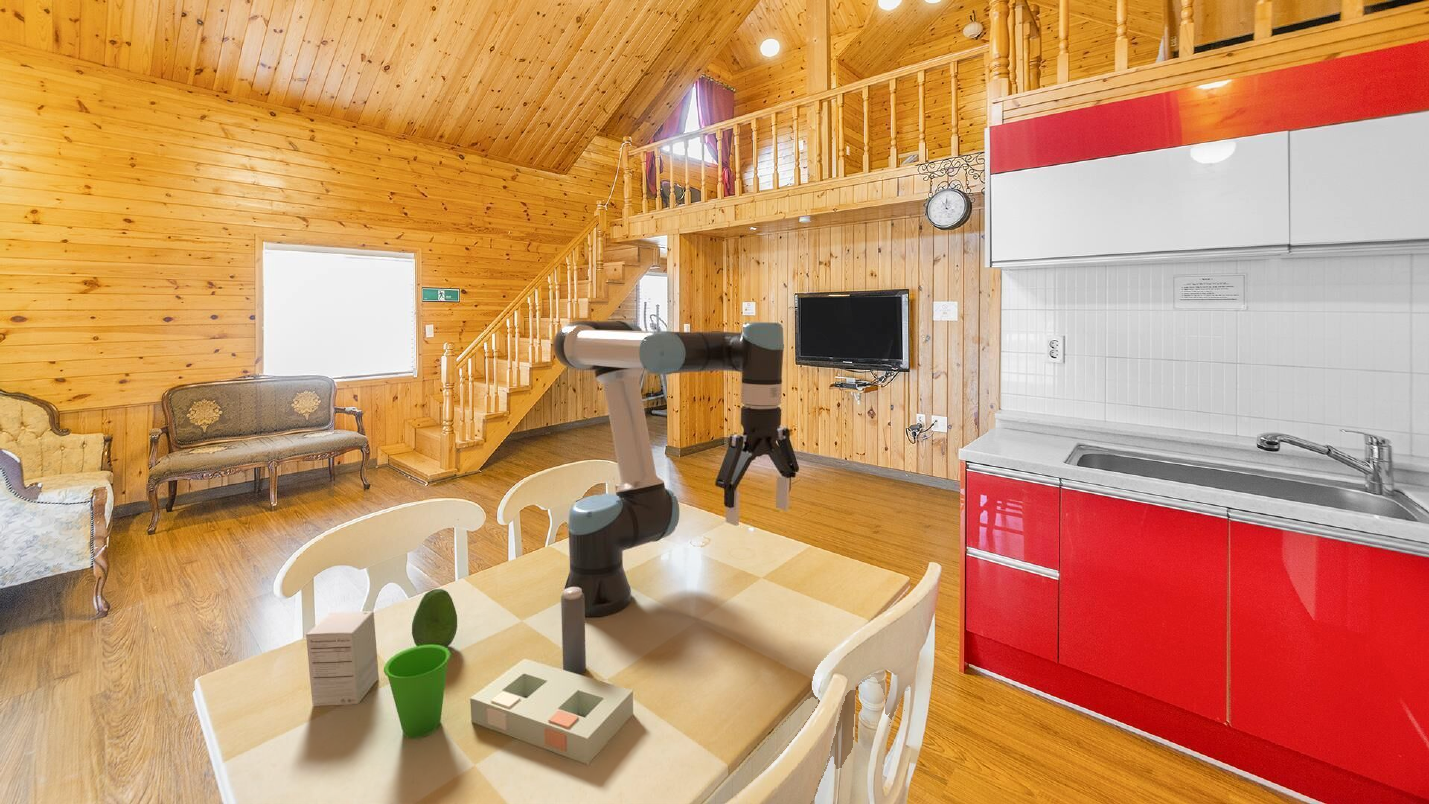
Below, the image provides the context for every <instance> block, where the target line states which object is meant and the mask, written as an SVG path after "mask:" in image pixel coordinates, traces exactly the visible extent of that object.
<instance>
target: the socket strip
mask: <svg viewBox="0 0 1429 804" xmlns="http://www.w3.org/2000/svg"><path fill="white" fill-rule="evenodd" d="M469 700H470V716H471V718H470V719H471V723H474V724H476V725H479V726H482V727H485V728H487V729H490V730H493V731H495V732H499V733H500V734H504V735H506V736H509V737H512V738H514V739H517V740H519V741H523V742H525V743H529V744H530V745H533V746H536V747H539V748H541V749H543V750H547V751H550V752H553V753H556V754H558V755H562V756H564V757H567V758H569V759H572V760H575V761H577V762H580V763H582V764H585V765H589V764H590V763H591V762H592V761H593V760H594V759H595V757H596V756H597V755H598V754H599V753H600V752H601V751H602V749H604V747H606V745H607V744H608V743H609V742H610V740H611V739H612V738H613V737H614V735H616V734H617V733H618V731H620V729H621V728H622V727H623V726H624V725H625V724H626V722H627V721H628V720H629V719H630V718H631V717H632V716H633V715H634V690H632V689H628V688H625V687H622V686H619V685H615V684H612V683H609V682H605V681H602V680H598V679H595V678H591V677H588V676H584V675H583V674H581V675H579V674H575V673H572V672H568V671H565V670H563V668H558V667H554V666H550V665H548V664H545V663H540V662H539V661H535V660H531V659H527V658H523V659H522V660H520V661H519V662H517V663H516V664H514V665H513V666H512V667H511V668H509V669H508V670H507V671H506V672H504V673H503V674H501V675H500V676H498V677H497V678H496V679H494V680H493V681H492V682H489V683H488V684H487V685H486V686H485V687H483V688H482V689H481V690H479V691H478V692H476V693H475V694H474V695H472V696H471V697H470V698H469ZM581 715H582V716H581ZM584 716H585V717H584Z"/></svg>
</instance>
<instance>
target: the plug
mask: <svg viewBox="0 0 1429 804" xmlns="http://www.w3.org/2000/svg"><path fill="white" fill-rule="evenodd" d="M560 607H561V641H562V642H561V643H562V644H561V645H562V670H565V671H568V672H572V673H575V674H579V675H583V674H585V672H586V670H587V662H586V661H587V658H586V657H587V655H586V654H587V653H586V651H587V650H586V617H585V607H584V594H583V593H582V589H581V588H579V587H570V588H567V589H565V590H564V589H563V592H562V595H561V597H560Z"/></svg>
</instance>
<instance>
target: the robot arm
mask: <svg viewBox="0 0 1429 804" xmlns="http://www.w3.org/2000/svg"><path fill="white" fill-rule="evenodd" d="M784 343H785V342H784V328H783V325H782V324H781V323H779V322H770V321H769V322H762V321H761V322H760V321H759V322H758V321H752V322H751V321H747V322H744V323H743V325H742V331H741V332H736V331H735V332H734V331H733V332H732V331H721V330H711V331H669V330H668V331H667V330H665V331H664V330H659V331H657V330H655V331H650V330H643V329H642V328H641V327H640V326H638V325H637V324H636V323H634V322H630V321H623V320H612V321H609V320H608V321H607V320H605V321H604V320H603V321H601V320H577V321H572V322H569V323H567V324H565V325H564V326H562V327H561V328H559V330H558V331H557V332H556V334H555V336H554V339H553V343H552V344H553V346H552V348H553V351H554V355H555V357H556V359H557V360H558V361H559V363H561V365H563V366H565V367H567V368H569V369H572V370H576V371H594V377H595V381H597V382H599V383H600V384H601V385H602V386H603V391H604V395H605V401H606V407H607V412H608V418H609V423H610V429H611V434H612V435H611V436H612V440H613V445H614V452H615V456H616V457H615V458H616V462H617V468H618V472H619V478H620V480H619V481H620V484H619V485H618V487H617V489H616V490H615V493H616V494H614V493H613V494H612V493H602V494H594V495H590V496H586V497H584V498H582V499H579V500H578V501H575V503H573V505H572V506H571V507H570V509H569V512H568V523H567V529H568V548H569V551H568V553H569V572H568V575H567V579H566V582H565V585H564V588H563V591H564V590H565V589H567V588H570V587H579V588H581V589H582V593H583V594H584V607H585V618H587V617H589V618H591V617H592V618H593V617H603V616H604V617H605V616H608V615H611V614H615V613H618V612H620V611H622V610H624V609H625V608H626V607H627V606H629V604H630V603H631V601H632V589H631V586H630V583H629V582H628V581H629V580H628V577H627V574H626V571H625V569H624V564H623V559H624V558H623V557H624V555H623V554H624V553H623V552H624V551H625V550H630V549H632V548H637V547H639V546H642V545H646V544H648V543H651V542H653V543H655V542H659V541H660V540H662V539H664V538H667V537H669V536H670V535H672V534H673V533H674V532H675V530H676V527H677V526H678V525H679V522H680V521H679V520H680V505H679V501H678V499H677V496H675V494H674V492H673V491H672V490H670V489H669V488H666V486H665V481H664V480H663V479H661V478H660V477H659V476H657V472H656V471H657V470H656V467H655V462H654V454H653V451H652V446H651V445H652V444H651V439H650V433H649V429H648V423H647V419H646V418H647V417H646V412H645V406H644V402H643V398H642V397H643V396H642V391H641V386H640V380H639V379H640V377H642V375H643V373H644V371H647V372H648V373H649V374H652V375H664V376H665V375H671V374H682V373H699V372H700V373H701V372H702V373H703V372H717V371H727V372H728V371H729V372H740V373H741V390H740V391H741V393H740V394H741V395H740V402H741V404H742V407H740V426H741V427H742V429H743V432H742V434H741V435H738V434H735V433H734V434H733V433H731V434H729V439H728V446H727V450H726V452H725V455H724V457H723V461H722V464H721V466H720V468H719V469H720V470H719V471H718V474H717V477H716V479H715V483H714V485H715V486H716V487H718V488H721V489H723V491H724V492H723V493H724V494H723V505H724V507H725V522H726V523H728V524H730V525H733V526H736V527H737V526H739V525H740V496H741V495H740V491H741V490H740V489H737V488H738V486H739V484H740V483H741V481H742V479H743V478H744V476H745V474H746V473H747V471H748V468H749V467H750V465H751V463H752V461H754V460H756V458H757V457H761V456H765V455H766V456H767V455H768V457H769V459H770V460H771V461H772V463H773V465H774V466H775V468H776V470H777V471H778V472H779V474H780V475H776V488H775V489H776V490H775V491H776V493H775V494H776V495H775V497H776V498H775V508H777V509H779V510H782V511H785V512H787V511H789V509H790V508H789V507H790V492H791V488H792V487H791V486H792V485H791V484H792V478H793V479H795V478H796V477H797V473H798V472H799V471H800V467H799V463H798V461H797V457H796V454H795V451H794V448H793V445H792V442H791V438H790V437H791V436H790V433H791V432H790V429H789V428H786V427H782V426H781V425H782V408H781V407H780V405H781V404H782V395H783V394H782V391H783V389H782V388H783V387H782V386H783V363H784V362H783V360H784V350H785V349H784V348H785V344H784Z"/></svg>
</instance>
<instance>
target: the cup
mask: <svg viewBox="0 0 1429 804" xmlns="http://www.w3.org/2000/svg"><path fill="white" fill-rule="evenodd" d="M450 659H451V652H450V650H449V649H448V647H447V648H445V647H444V646H440V645H422V646H416V645H415V646H413V647H410V648H407V649H405V650H402V651H400V652H398V653H396V654H395V655H393V656H391V657H390V658H389V659H388V661H387V662H386V663H385V665H384V667H383V672H384V675H385V676H387V679H388V682H389V687H390V690H391V693H392V697H393V701H394V705H395V709H396V711H397V716H398V719H399V723H400V726H401V730H402V732H403V734H404V736H406V737H407V738H411V739H417V738H423V737H425V736H428V735H430V734H432V733H434V731H436V730H437V729H438V727H439V725H440V723H441V720H442V714H443V713H442V712H443V704H444V695H445V689H446V688H445V687H446V680H447V678H446V677H447V670H448V662H449V661H450Z"/></svg>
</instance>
